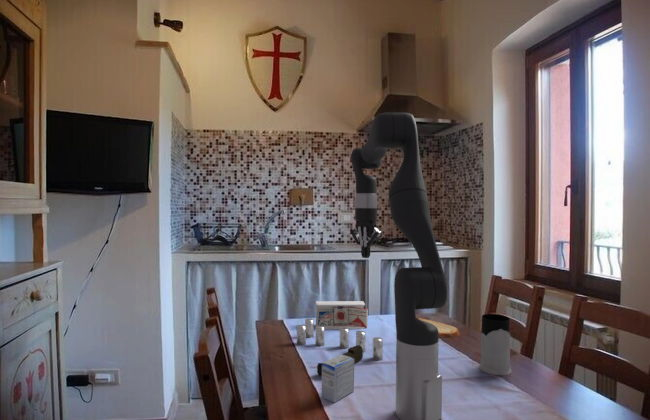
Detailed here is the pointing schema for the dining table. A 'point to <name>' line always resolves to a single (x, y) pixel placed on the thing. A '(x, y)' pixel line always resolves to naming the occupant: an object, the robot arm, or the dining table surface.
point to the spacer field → (308, 332)
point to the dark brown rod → (352, 352)
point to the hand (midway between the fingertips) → (365, 257)
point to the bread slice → (443, 329)
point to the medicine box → (337, 378)
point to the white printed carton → (341, 314)
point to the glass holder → (495, 344)
